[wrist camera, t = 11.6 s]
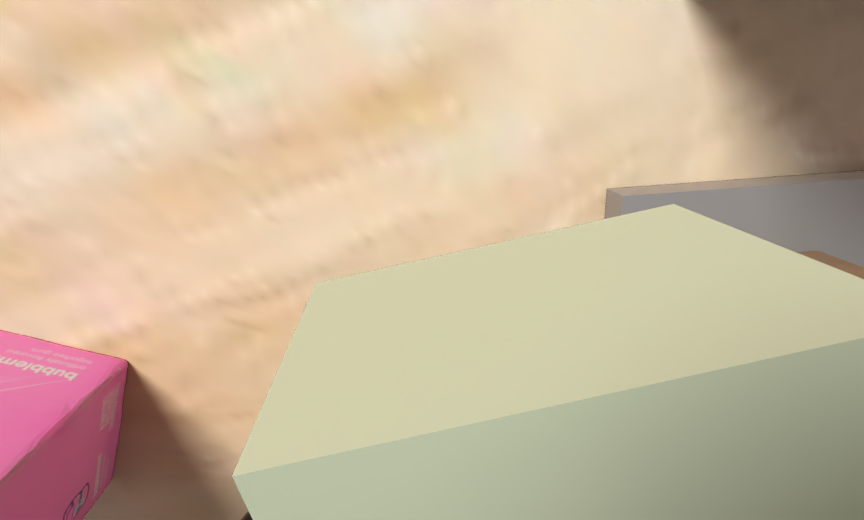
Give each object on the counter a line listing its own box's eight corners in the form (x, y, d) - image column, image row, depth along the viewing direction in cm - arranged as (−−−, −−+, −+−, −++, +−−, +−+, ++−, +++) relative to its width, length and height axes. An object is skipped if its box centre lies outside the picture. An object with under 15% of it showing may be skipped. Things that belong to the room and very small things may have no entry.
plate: (806, 393, 24) (831, 412, 23) (588, 414, 24) (600, 434, 22) (869, 169, 20) (904, 175, 19) (606, 188, 20) (623, 195, 18)
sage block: (678, 476, 9) (860, 726, 6) (399, 537, 10) (400, 826, 6) (673, 203, 7) (957, 317, 4) (315, 283, 7) (230, 477, 4)
